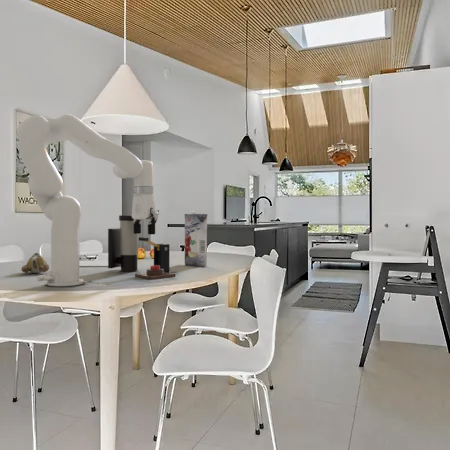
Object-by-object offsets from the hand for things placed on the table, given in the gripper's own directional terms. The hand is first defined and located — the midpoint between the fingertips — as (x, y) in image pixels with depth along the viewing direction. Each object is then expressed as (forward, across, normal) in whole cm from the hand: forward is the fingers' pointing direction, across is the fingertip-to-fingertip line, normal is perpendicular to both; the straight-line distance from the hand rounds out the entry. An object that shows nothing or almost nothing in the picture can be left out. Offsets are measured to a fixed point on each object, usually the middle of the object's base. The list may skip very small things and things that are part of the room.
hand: (144, 233), depth 175 cm
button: (+14, +9, -1) cm, 16 cm away
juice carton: (+18, -13, +40) cm, 45 cm away
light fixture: (+18, -14, 0) cm, 22 cm away
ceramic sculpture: (+17, -41, -26) cm, 52 cm away
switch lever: (+5, 0, +4) cm, 7 cm away
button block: (+17, +9, -2) cm, 20 cm away
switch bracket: (+17, 0, +8) cm, 19 cm away
